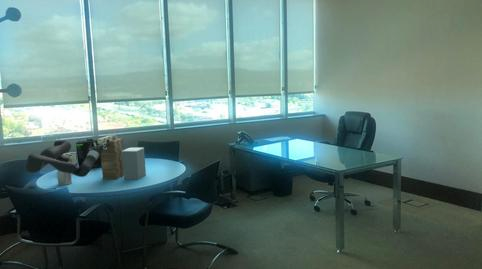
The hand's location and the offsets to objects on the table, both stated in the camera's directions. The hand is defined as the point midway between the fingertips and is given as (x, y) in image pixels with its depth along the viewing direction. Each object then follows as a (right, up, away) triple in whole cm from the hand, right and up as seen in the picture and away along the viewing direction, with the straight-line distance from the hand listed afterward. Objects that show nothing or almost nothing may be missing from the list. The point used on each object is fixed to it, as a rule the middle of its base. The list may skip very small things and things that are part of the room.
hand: (103, 140), depth 290 cm
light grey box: (+21, -30, +13) cm, 38 cm away
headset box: (-30, -25, +56) cm, 68 cm away
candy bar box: (-43, -28, +40) cm, 65 cm away
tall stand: (+3, -30, +16) cm, 34 cm away
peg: (+1, -1, +6) cm, 6 cm away
